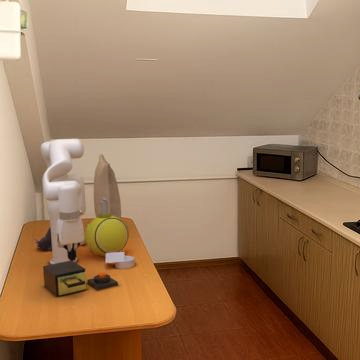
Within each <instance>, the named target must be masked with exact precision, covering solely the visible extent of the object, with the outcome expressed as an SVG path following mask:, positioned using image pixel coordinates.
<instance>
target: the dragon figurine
mask: <svg viewBox="0 0 360 360" xmlns="http://www.w3.org/2000/svg"><path fill="white" fill-rule="evenodd" d="M85 230H86V228H84V233H85ZM34 241H35V242H34V243H35V244H36V247H37V248H39V249H40V250H42V251H52V240H51V227H50V226H49V228H48V230H47V231H46V233H45V235H44V237H42V238H41V239H40V240H38V239H36V238H34ZM84 241H85V240H84ZM85 244H86V242H85V243H84V244H82V245H83V246H85Z"/></svg>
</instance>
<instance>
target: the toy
mask: <svg viewBox="0 0 360 360" xmlns="http://www.w3.org/2000/svg"><path fill="white" fill-rule="evenodd" d="M100 202H101V213H100V214H99V215H98V217H97V218H96V217H95V218H93V219H92V220H91V221H90V222H89V223H87V225H86V227H85V229H86V230H85V229H84V230H85V233H84V240H85V244H86V245H87V246H86V247H88V249H89V250H90V251H91V252H92V253H93V254H95V255H97V256H99V257H105V258H106V253H114V252H122V251H123V249H124V248H125V247H126V246H127V243H128V241H129V235H130V232H129V228H128V226H127V223H125V222H124V221H123V220H122V219H121V220H120V219H119V218H117V217H115V216H112V215H111V214H110V213H108V201H107V199H106V198H104V197H103V198H102V199H100Z"/></svg>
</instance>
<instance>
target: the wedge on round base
mask: <svg viewBox="0 0 360 360" xmlns="http://www.w3.org/2000/svg"><path fill="white" fill-rule="evenodd" d="M111 263H112V264H113V263H114V267H115V268H116V269H120V270H121V269H123V270H125V269H129V268H130V269H131V268H133V267H134V266H135V257H134V256H132V255H125V251H120V252H114V253H106V257H105V264H111Z"/></svg>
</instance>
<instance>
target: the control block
mask: <svg viewBox="0 0 360 360" xmlns="http://www.w3.org/2000/svg"><path fill="white" fill-rule="evenodd" d="M86 284H88V285H89V286H91V287H92V288H93V289H95V290H96V291H102V290H105V289H110V288H114V287H118V286H119V281H117V280H115V279H114V278H112V277H111V275H110V274H107V273H106V278H98V274H96V275H94V277H92V278H88V279H86Z"/></svg>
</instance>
